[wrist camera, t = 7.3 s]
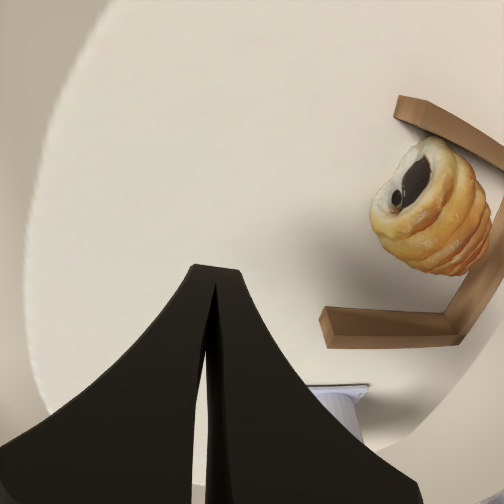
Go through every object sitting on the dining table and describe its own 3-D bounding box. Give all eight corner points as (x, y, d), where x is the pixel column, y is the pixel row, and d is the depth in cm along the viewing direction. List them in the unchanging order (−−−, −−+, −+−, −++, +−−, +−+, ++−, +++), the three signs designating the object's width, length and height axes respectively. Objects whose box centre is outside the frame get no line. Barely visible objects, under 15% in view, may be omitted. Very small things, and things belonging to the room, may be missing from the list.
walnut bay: (445, 324, 21) (458, 345, 19) (318, 319, 19) (327, 348, 17) (523, 167, 13) (547, 181, 11) (398, 95, 12) (426, 100, 10)
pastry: (491, 212, 16) (524, 240, 12) (434, 281, 19) (459, 317, 15) (420, 121, 13) (465, 139, 9) (347, 217, 16) (374, 256, 12)
